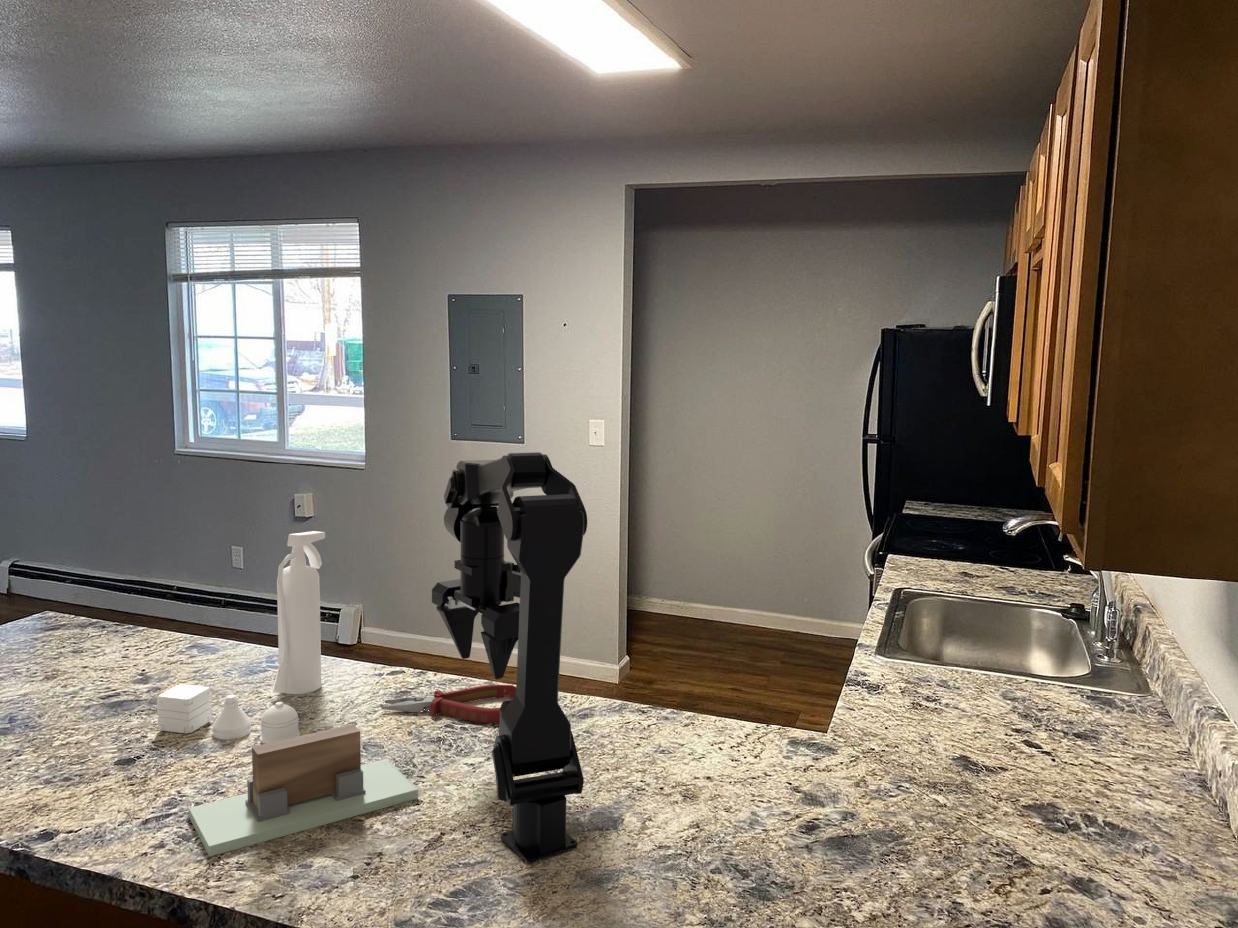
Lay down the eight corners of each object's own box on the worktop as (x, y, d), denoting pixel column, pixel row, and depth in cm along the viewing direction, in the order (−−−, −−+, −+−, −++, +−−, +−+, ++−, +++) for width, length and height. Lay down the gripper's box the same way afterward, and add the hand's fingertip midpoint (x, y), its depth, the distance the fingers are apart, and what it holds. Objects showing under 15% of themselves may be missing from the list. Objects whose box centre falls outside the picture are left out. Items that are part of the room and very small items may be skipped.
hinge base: (418, 798, 116) (417, 766, 116) (209, 856, 102) (208, 820, 102) (386, 767, 124) (386, 737, 124) (189, 817, 110) (187, 784, 110)
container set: (157, 733, 134) (156, 695, 133) (181, 718, 139) (180, 682, 138) (286, 748, 130) (286, 710, 129) (307, 733, 135) (306, 696, 134)
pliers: (389, 697, 149) (389, 681, 149) (518, 697, 151) (518, 681, 150) (375, 728, 138) (375, 710, 138) (515, 727, 139) (515, 710, 139)
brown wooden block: (360, 785, 116) (360, 730, 115) (259, 812, 109) (257, 754, 108) (353, 778, 118) (353, 724, 117) (253, 803, 111) (251, 746, 110)
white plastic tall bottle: (251, 697, 146) (254, 537, 143) (301, 674, 157) (304, 526, 155) (288, 705, 144) (292, 542, 141) (336, 681, 155) (340, 530, 153)
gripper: (572, 561, 123) (570, 677, 125) (500, 534, 137) (499, 638, 140) (496, 572, 116) (495, 694, 118) (429, 543, 131) (430, 652, 133)
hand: (481, 667), depth 127 cm, fingers open, 9 cm apart
